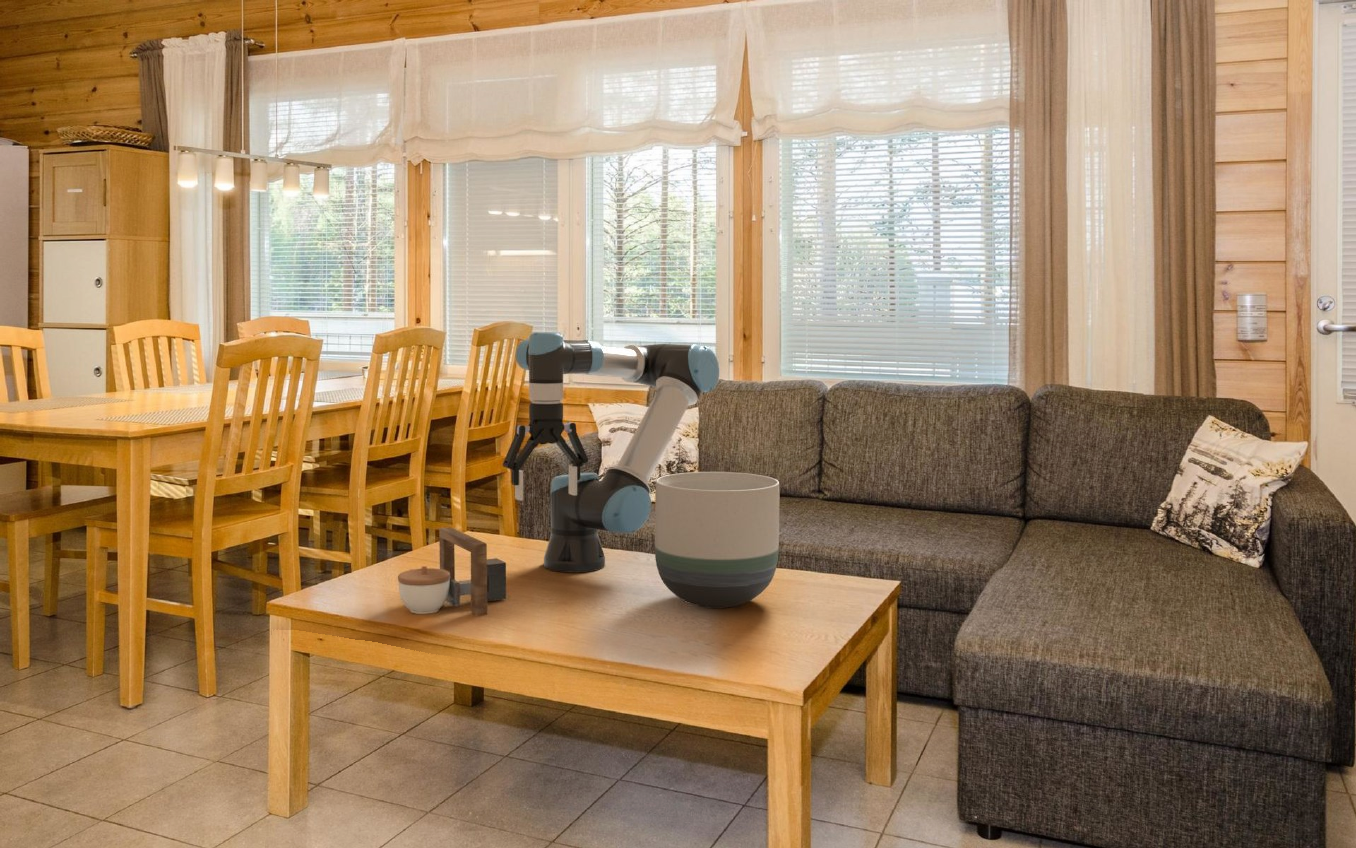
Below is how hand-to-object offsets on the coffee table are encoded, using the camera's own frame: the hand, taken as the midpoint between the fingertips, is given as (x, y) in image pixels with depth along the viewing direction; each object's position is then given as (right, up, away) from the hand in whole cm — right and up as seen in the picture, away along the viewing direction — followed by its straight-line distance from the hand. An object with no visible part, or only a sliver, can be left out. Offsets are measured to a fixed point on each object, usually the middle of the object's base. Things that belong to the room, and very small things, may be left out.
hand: (546, 497), depth 242 cm
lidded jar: (-24, -23, -14) cm, 36 cm away
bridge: (-17, -22, -9) cm, 29 cm away
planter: (+38, -23, -6) cm, 44 cm away
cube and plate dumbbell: (-15, -22, -7) cm, 27 cm away
